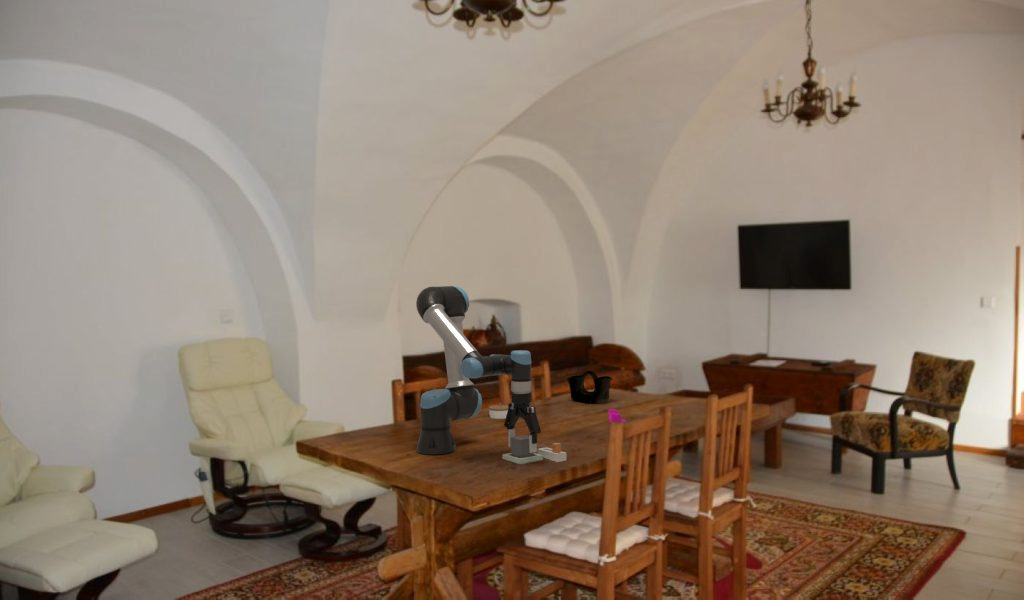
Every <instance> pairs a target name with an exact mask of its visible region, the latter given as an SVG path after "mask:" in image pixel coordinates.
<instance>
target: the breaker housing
mask: <svg viewBox="0 0 1024 600" xmlns="http://www.w3.org/2000/svg"><path fill="white" fill-rule="evenodd" d="M536 453H537V454H540V455H543V459H547V460H549V461H553V462H556V463H561V462H564V461H567V452H566V451H562V450H561V452H558V453H555V452H552V447H551V448H550V447H541V448H540V447H539V448H537V452H536Z"/></svg>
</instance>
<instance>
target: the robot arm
mask: <svg viewBox="0 0 1024 600" xmlns="http://www.w3.org/2000/svg"><path fill="white" fill-rule="evenodd" d="M415 304H416V305H415V306H416V310H417V313H418V314H419V317H420V318H421V319H422V321H423V322H424V323H426V324H429V325H430V326H431V328H432V329H433V330H434V331H435V333H436V334H437V336H439V337H440V338H441V340H442V341H443V348H444V349H443V350H444V356H445V357H444V358H445V359H444V360H445V365H446V372H447V381H448V383H447V385H446V386H445V388H438V389H431V390H428V391H425V392H423V393H422V394H421V397H420V403H419V404H420V405H419V406H420V434H419V438H418V441H417V444H416V452H417V453H418V454H421V455H422V454H423V455H444V454H445V455H446V454H450V453H453V452H455V451H456V449H457V447H456V441H455V439H454V436H453V433H452V422H453V421H454V422H455V421H460V420H468V419H470V418H474V417H476V416H477V415H478V414H479V412H480V411H481V410H482V406H483V398H482V395H481V393H480V392H479V390H478V389H477V388H475V385H474V382H472V381H471V380H470V379H479V378H485V377H492V376H504V375H505V376H510V379H511V380H510V382H511V383H510V391H511V403H508V404H507V405H508V412H507V416H506V419H504V423H503V427H504V428H506V429H507V440H508V443H507V444H508V446H507V447H509V448H511V437H516V428H515V426H516V424H517V422H518V421H519V418H521V419H522V420H524V422H525V425H526V426H527V428H528V431H529V446H530V453H533V452H534V453H538V452H537V449H538V448H537V446H538V434H541V433H542V429H541V427H540V426H541V425H540V422H539V419H538V416H537V413H536V412H537V411H536V406H532V407H531V406H530V404H532V401H533V398H532V357H531V351H529V350H521V349H520V350H512V351H511V352H510V355H509V354H501V353H498V354H490V355H489V356H488V355H486V356H485V355H484V356H482V355H481V353H480V352H479V351H478V350H477V349H476V347H475V346H474V345H473V344H472V343H471V342H470V341H469V339H468V338H467V337H466V336H465V334H464V327H463V321H464V320H465V318H466V314H467V312H468V310H469V307H470V298H469V295H468V293H467V292H466V290H464V289H463V288H462V287H460V286H455V285H454V286H453V285H447V286H446V285H445V286H428V287H426V288H423V289H422V290H421V291H420V293H419V294H418V295H417V298H416V303H415Z"/></svg>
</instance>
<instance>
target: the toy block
mask: <svg viewBox="0 0 1024 600" xmlns="http://www.w3.org/2000/svg"><path fill="white" fill-rule="evenodd" d="M621 417H622V415H621V413H618V409H617V408H615V409H614V408H613V409H612V408H611V409H608V422H609V423H611V422H614V421H615V422H626V423H627V420H626V419H621Z"/></svg>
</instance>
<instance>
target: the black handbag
mask: <svg viewBox="0 0 1024 600" xmlns="http://www.w3.org/2000/svg"><path fill="white" fill-rule="evenodd" d="M588 374H589V375H590V376H591V377H592V380H593V384H594V390H593V391H589V390H587V389H586V388H585V378H586V377H587V376H588ZM566 380H567V382H568V386H569V391H570V398H571V399H572V400H573V401H574V402H576V403H580V404H585V405H604V404H605V403H607V402H608V400H609V399H610V389H611V383H612V381H613V377H611V376H608V375H605V376H603V375H602V376H598V375H597V373H596V372H594V371H592V370H587V371H585V372H584V373H583V374H580V375H572V376H570V377H567V378H566Z"/></svg>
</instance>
